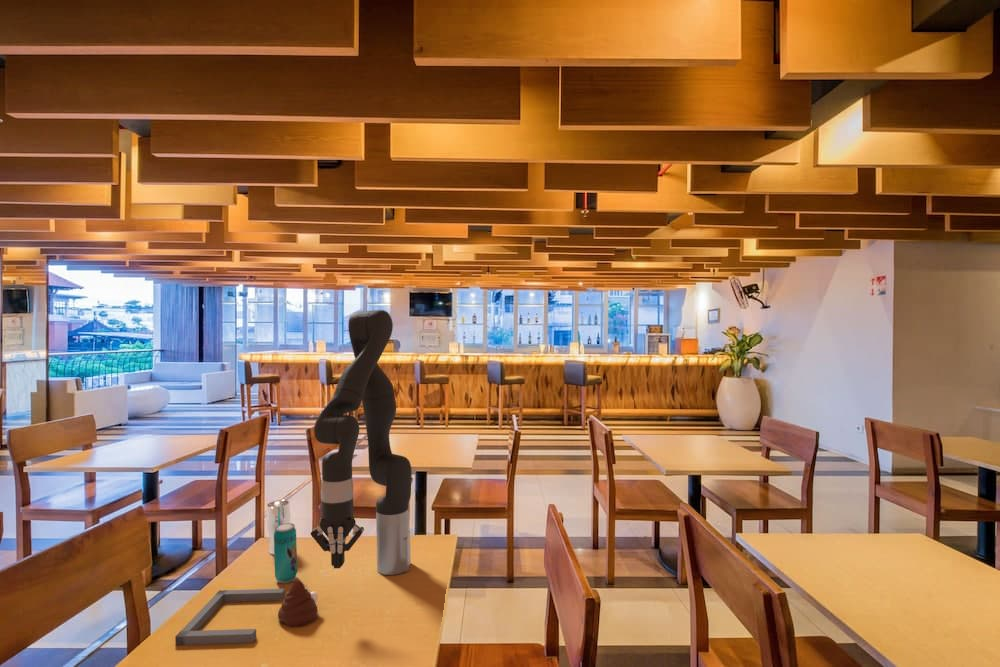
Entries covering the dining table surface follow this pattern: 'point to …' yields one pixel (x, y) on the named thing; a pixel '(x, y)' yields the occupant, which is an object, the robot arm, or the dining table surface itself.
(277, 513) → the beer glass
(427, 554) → the dining table surface
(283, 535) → the beverage can
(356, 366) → the robot arm
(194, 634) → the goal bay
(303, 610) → the poop emoji
